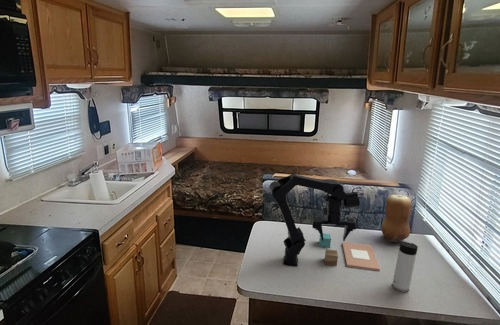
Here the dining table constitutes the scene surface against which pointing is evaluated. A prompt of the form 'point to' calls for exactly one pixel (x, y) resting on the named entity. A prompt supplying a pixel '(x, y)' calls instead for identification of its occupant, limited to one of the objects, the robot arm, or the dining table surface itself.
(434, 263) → the dining table surface
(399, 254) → the travel mug
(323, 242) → the teal block
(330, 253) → the walnut block
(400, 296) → the dining table surface
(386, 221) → the butternut squash
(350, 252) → the baseplate
